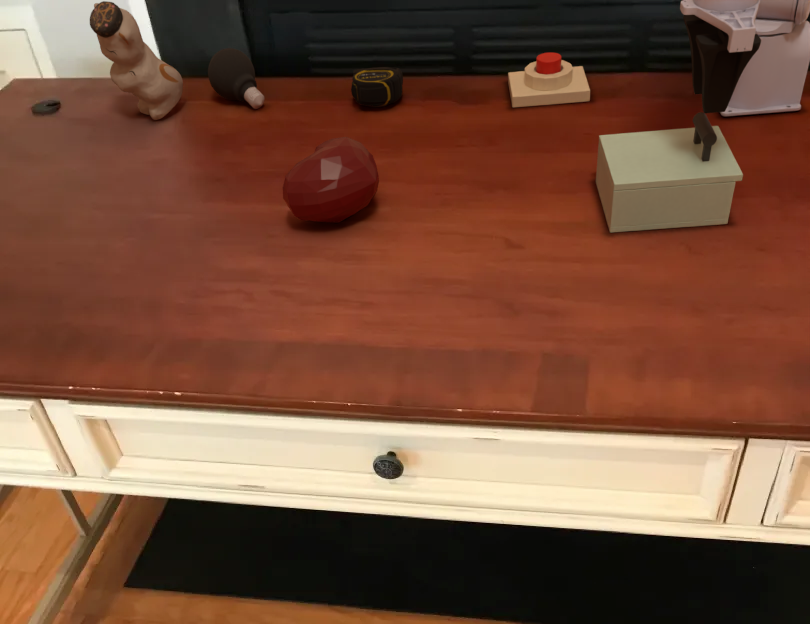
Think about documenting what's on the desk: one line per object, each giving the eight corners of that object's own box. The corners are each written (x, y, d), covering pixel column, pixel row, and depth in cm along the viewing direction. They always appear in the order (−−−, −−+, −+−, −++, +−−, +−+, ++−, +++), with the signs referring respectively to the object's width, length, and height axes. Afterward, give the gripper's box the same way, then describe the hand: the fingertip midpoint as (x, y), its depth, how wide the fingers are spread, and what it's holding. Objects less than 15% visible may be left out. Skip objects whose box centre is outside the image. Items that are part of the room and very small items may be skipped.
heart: (408, 188, 103) (338, 186, 108) (393, 120, 98) (319, 121, 103) (358, 242, 97) (284, 238, 101) (338, 173, 91) (262, 171, 96)
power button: (559, 65, 118) (560, 51, 117) (562, 75, 116) (562, 60, 115) (535, 67, 119) (535, 53, 117) (537, 77, 117) (537, 62, 115)
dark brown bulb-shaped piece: (246, 86, 118) (202, 40, 121) (238, 129, 124) (195, 85, 126) (284, 79, 122) (240, 35, 125) (274, 122, 127) (232, 79, 130)
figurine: (112, 115, 127) (74, -4, 115) (180, 96, 129) (149, -22, 118) (129, 137, 121) (90, 15, 110) (199, 116, 124) (168, -5, 112)
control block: (582, 76, 122) (583, 53, 120) (589, 101, 116) (591, 77, 114) (508, 82, 122) (508, 59, 120) (512, 107, 117) (512, 84, 115)
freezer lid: (717, 131, 98) (723, 96, 95) (742, 181, 91) (749, 144, 88) (598, 141, 99) (601, 107, 96) (613, 190, 91) (616, 155, 89)
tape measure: (404, 90, 124) (402, 61, 121) (401, 111, 119) (399, 82, 116) (355, 93, 124) (352, 64, 122) (351, 114, 120) (347, 85, 117)
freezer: (704, 173, 102) (711, 132, 98) (727, 224, 94) (735, 182, 91) (595, 181, 102) (598, 141, 99) (609, 232, 95) (613, 191, 91)
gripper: (673, -74, 85) (655, 76, 95) (706, -24, 76) (683, 137, 86) (749, -82, 85) (723, 70, 95) (792, -32, 75) (758, 131, 85)
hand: (709, 101), depth 90 cm, fingers open, 4 cm apart
